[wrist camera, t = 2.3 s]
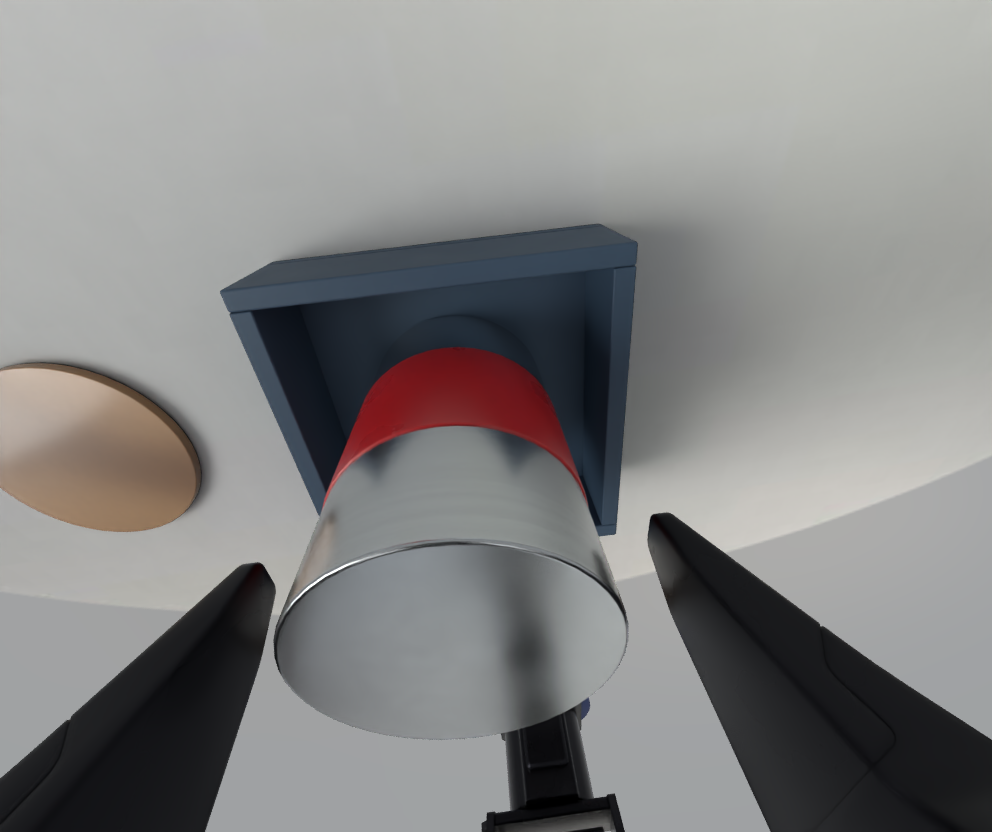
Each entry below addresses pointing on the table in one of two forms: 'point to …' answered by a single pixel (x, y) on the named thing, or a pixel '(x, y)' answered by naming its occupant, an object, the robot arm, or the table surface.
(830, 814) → the robot arm
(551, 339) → the crate
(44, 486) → the coaster
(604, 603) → the can
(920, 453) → the table surface
